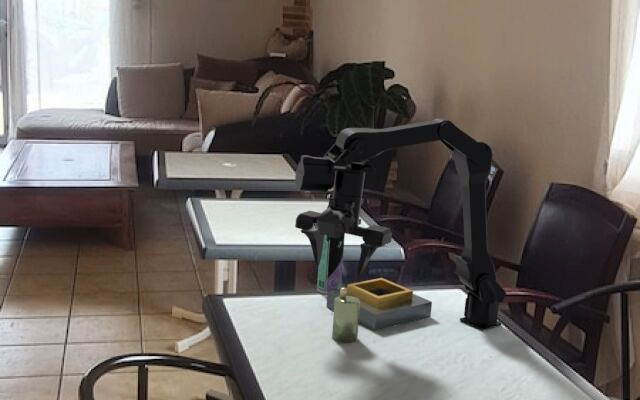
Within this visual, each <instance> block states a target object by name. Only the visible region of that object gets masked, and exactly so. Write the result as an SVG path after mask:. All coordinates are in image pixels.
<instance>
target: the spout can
mask: <svg viewBox="0 0 640 400" xmlns="http://www.w3.org/2000/svg"><path fill="white" fill-rule="evenodd" d="M346 290H347V287H344V286H341V288H340V296H338V297H336V298H335V302H334V310H333V317H332V319H333V320H332V332H331V334H332V337H331V339H332V340H333V341H334V342H336V343H339V344H353V343H356V342H357V341H358V337H359V336H358V335H359V324H360V323H359V310H360V300H359V299H358V298H356V297H352V296H346Z"/></svg>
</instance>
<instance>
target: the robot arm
mask: <svg viewBox="0 0 640 400" xmlns="http://www.w3.org/2000/svg"><path fill="white" fill-rule="evenodd" d="M438 141H439V142H440V143H442V145H443V146H444V147H445V148H447V149H448V150H449V151H450V152H452V157H453V161H454V165H455V169H456V171H457V175H458V177H459V178H460V181H461V191H462V193H461V194H462V213H463V214H462V215H463V238H464V239H463V240H464V241H463V242H464V248H463V251H462V253H461V255H455V256H454V258H455V259H454V260H455V265H456V267H455V272H454V274H456V275H457V276H458V279H459V280H460V282H461V283H463V285H464V289H465V290H466V291H468V292H467V295H466V298H465V303H464V310H463V311H464V312H463V313H464V314H463V316H464V317H460V319H459V321H460V322H462V323H464V324H466V325H469V326H472V327H473V328H475V329H478V330H480V331H485V330H488V329H493V328H496V327H499V326H502V322H501V321H498V316H499V309H500V308H499V307H500V303H503V301H504V300H505V298H506V296H507V292H506V291H505V290H504V288H503V287H502V286H501V285H500V284H499V283H498V282H497V274H496V269H495V264H494V262H493V260H492V259H493V258H492V257H491V255H490V252H489V250H488V227H487V221H488V220H487V198H486V197H487V194H486V193H487V192H486V184H487V180H488V178H489V175H490V173H491V170H492V163H493V158H494V157H493V156H494V154H493V149H492V148H491V146H489V145H488V143H485V142H483V141H480V140H478V139H475V138H472V137H471V136H470V135H468V134H467V133H466V132H465V131H463V130H461V129H460V128H459V127H457V126H456V124H454V123H453V122H452V121H451V120H448V119H445V118H442V117H437V118H435V119H432V120H427V121H421V122H414V123H410V124H403V125H398V126H397V125H396V126H391V127H386V128H385V127H384V128H368V127H347V128H344V129H342V130H341V131H340V132H339V133H338V135H337V137H336V139H335V143H334V144H333V145H332V146H331V148H329V149H328V151H326V153H325V154H324V155H323V157H319V156H318V157H317V156H311V155H306V154H304V155H303V154H301V156H300V161H299V162H298V164H297V165H298V166H297V169H296V170H295V175H294V176H295V177H294V183H295V187H296V188H295V189H296V190H297V191H299V192H312V193H313V192H315V193H327V192H328V191H329V190H332V189H333V191H332V197H330V198H329V201H328V205H327V207H326V209H324V210H323V211H322V212H318V211H313V210H307V211H305V212H301V213H299V214H298V215H297V217H296V218H295V226H294V227H295V228H296V229H300V232H301V234H304V235H305V236H306V237H307V238H308V240H309V241H308V242H309V243H310V246H311V250H312V254H313V260H314V263H315V265H316V266H319V264H320V261H321V257H322V250H323V243H324V236H325V235H327V236H331V237H332V238H339V237H340V236H341V235H342V233H345V235H346V234H348V235H352V236H355V237H360V238H361V239H362V241H363V243H361V244H360V255H359V261H358V265H357V276H361V275H362V274H363V273H364V271H365V270H366V267H367V265H368V263H369V262H370V260H371V258H372V256H373V255H374V253H375V252H376V251H377V249H379V248H381V247H384V246H386V245H388V244H390V243H392V239H393V232H392V230H391V228H390V227H386V226H381V225H378V224H377V225H376V224H373V225H370V226H367V227H363V226H359V225H361V224H362V218H360V215H361V207H362V205H364V201H365V198H363V193H364V192H363V191H364V186H365V184H364V183H365V177H366V174H376V172H377V170H376V169H375V168H374V167H373V165H372V164H371V161H370V160H369V159H372V158H375V157H377V156H379V155H380V154H382V153H384V152H387V151H389V150H394V149H399V148H404V147H411V146H416V145H420V144H421V145H422V144H427V143H433V142H438Z"/></svg>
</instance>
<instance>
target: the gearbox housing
mask: <svg viewBox="0 0 640 400" xmlns="http://www.w3.org/2000/svg"><path fill="white" fill-rule="evenodd" d="M346 288H347V290H346V296H352V297H356V298H358V299H359V300H360V310H359V324H361V325H363V326H364V327H366V328H368V329H370V330H373V331H380V330H384V329H389V328H392V327H397V326H399V325H400V326H401V325H405V324H408V323H412V322H416V321H420V320H421V321H422V320H425V319H428V318H431V316H432V307H433V306H432V305H433V302H432V301H431V300H429V299H426V298H424V297H421V296H419V295H418V294H415V293H414V290H412V289H409V288H407V287H404V286H402V285H400V284H397V283H395V282H392V281H390V280H388V279H386V278H383V277H379V278H375V279H373V278H372V279H369V280H364V281H360V282H353V283H348V284H347V287H346ZM326 295H327V297H326V308H328V307H329V308H328V309H330V308H331V310H332V309H333V311H334V302H335V298H336V297H338V296H340V289H337V290H332V291H328V292H327V294H326Z"/></svg>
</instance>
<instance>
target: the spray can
mask: <svg viewBox="0 0 640 400" xmlns="http://www.w3.org/2000/svg"><path fill="white" fill-rule="evenodd" d="M345 235H346V233H342V235H341V236H340V237H339V238H332V237H331V236H327V235H325V236H324V243H323V250H322V257H321V261H320V264H319V265H318V269H317V270H318V271H317V286H316V287H317V288H316V290H317V292H319V293H320V294H322V295H327V292H328V291H332V290H337V289H340V288H341V287H342V280H343V278H342V277H343V265H344V264H343V263H344V251H345V250H344V249H345V237H346V236H345Z"/></svg>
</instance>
